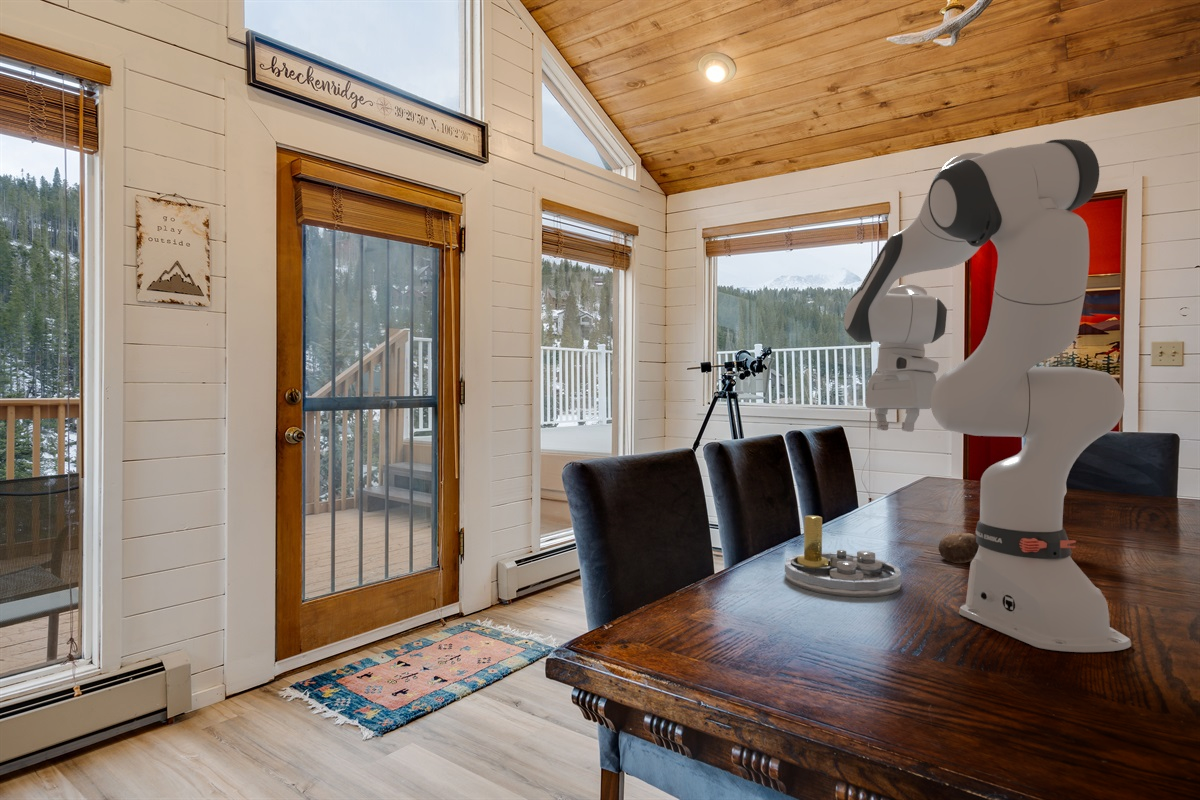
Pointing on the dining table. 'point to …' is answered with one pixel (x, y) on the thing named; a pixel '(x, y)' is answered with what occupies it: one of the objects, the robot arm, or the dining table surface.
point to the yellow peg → (813, 543)
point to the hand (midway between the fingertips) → (894, 430)
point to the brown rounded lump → (958, 547)
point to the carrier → (846, 575)
